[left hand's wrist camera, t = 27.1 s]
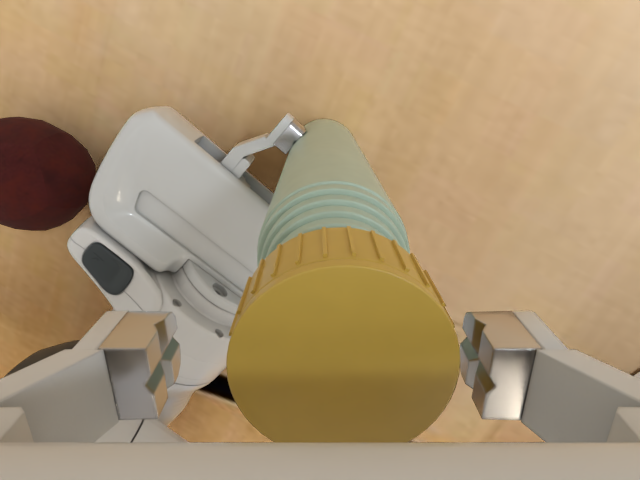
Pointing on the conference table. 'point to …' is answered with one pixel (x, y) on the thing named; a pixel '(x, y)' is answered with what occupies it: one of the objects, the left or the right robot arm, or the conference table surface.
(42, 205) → the potato
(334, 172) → the bottle
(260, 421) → the cap
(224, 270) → the right robot arm
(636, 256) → the conference table surface
